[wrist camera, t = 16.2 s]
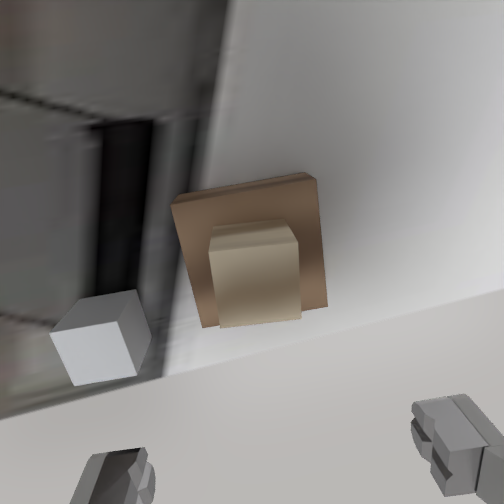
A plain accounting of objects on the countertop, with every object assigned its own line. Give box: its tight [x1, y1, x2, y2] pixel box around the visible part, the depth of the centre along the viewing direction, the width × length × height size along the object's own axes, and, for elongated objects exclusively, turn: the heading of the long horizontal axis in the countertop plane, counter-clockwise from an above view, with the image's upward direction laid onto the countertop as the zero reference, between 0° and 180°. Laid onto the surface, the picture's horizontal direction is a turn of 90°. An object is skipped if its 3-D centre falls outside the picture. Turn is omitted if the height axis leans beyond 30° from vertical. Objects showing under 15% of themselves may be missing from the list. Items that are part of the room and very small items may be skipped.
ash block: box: [208, 219, 302, 328], centre depth 21 cm, size 5×5×5 cm
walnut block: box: [170, 172, 328, 328], centre depth 26 cm, size 10×10×4 cm
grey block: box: [49, 289, 152, 386], centre depth 27 cm, size 5×5×5 cm
